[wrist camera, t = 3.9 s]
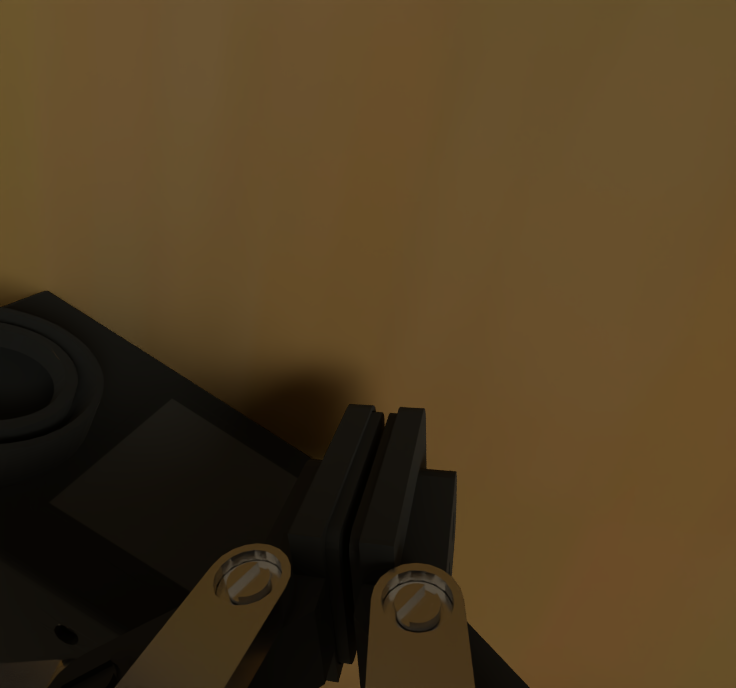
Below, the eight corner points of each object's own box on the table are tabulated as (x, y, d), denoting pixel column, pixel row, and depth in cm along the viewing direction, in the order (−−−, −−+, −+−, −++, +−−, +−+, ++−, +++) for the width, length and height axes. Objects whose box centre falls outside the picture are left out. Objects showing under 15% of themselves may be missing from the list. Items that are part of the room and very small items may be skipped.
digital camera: (359, 447, 15) (258, 678, 9) (282, 553, 18) (160, 792, 11) (55, 253, 15) (-264, 350, 9) (20, 387, 17) (-249, 537, 11)
